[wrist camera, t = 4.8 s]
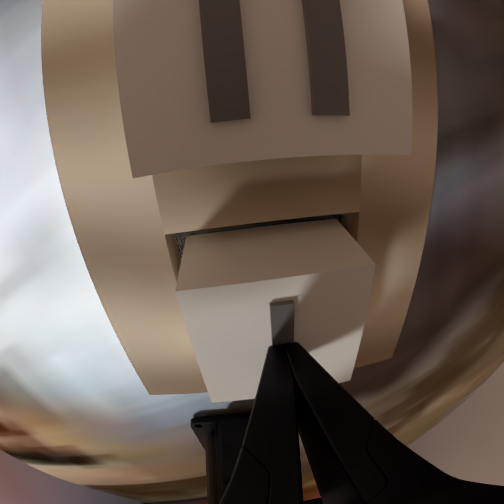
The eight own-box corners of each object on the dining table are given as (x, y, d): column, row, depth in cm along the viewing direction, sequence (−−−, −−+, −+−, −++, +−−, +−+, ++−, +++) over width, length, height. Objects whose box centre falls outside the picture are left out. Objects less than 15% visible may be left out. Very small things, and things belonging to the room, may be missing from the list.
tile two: (349, 133, 7) (415, 156, 5) (164, 149, 7) (129, 181, 4) (334, -25, 5) (388, -69, 2) (148, -17, 5) (113, -71, 2)
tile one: (327, 326, 12) (351, 383, 9) (211, 343, 12) (212, 406, 9) (335, 218, 10) (378, 267, 7) (186, 235, 9) (174, 294, 7)
